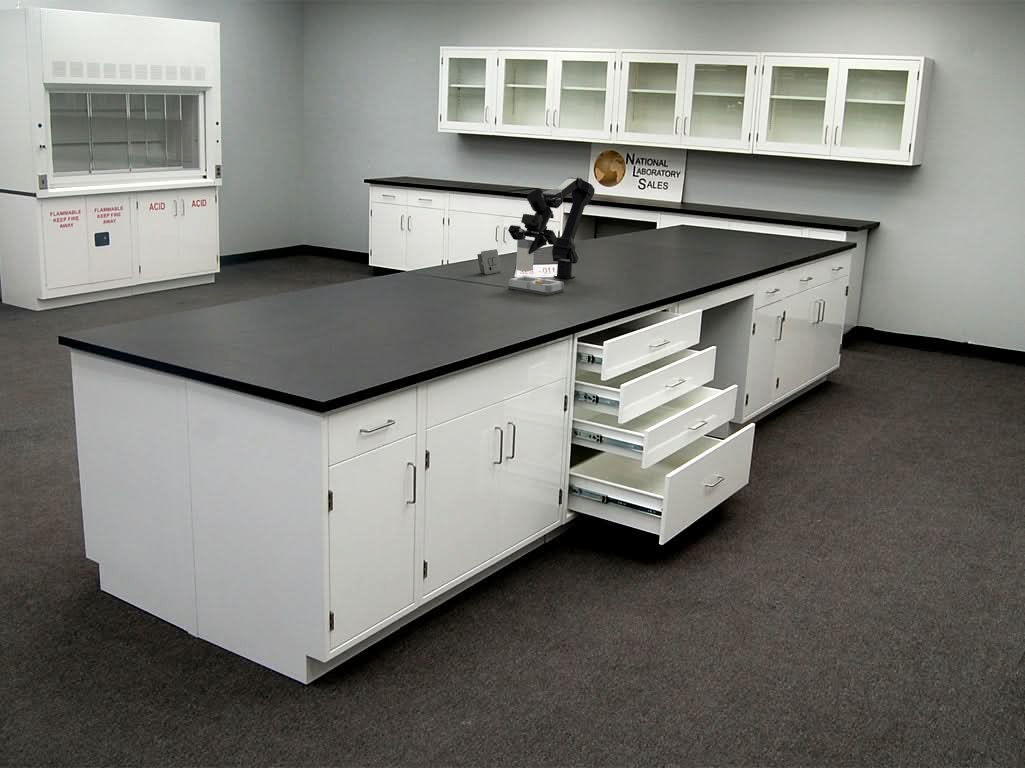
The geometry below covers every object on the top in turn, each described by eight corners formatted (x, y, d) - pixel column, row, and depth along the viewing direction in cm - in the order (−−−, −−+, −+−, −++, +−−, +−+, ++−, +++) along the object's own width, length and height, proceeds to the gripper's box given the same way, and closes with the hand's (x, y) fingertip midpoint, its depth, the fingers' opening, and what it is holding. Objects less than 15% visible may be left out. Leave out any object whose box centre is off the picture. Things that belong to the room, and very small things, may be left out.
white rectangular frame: (524, 284, 383) (524, 273, 382) (563, 291, 374) (564, 279, 373) (508, 288, 375) (508, 277, 374) (548, 295, 366) (549, 283, 364)
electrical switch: (486, 275, 400) (485, 251, 398) (476, 274, 403) (475, 251, 401) (501, 272, 407) (500, 249, 405) (491, 272, 410) (490, 248, 408)
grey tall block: (522, 268, 378) (523, 239, 375) (532, 270, 376) (534, 240, 373) (516, 270, 374) (517, 240, 371) (526, 271, 372) (527, 241, 369)
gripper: (511, 203, 376) (494, 236, 371) (554, 208, 367) (537, 241, 361) (522, 222, 385) (505, 254, 379) (564, 227, 376) (548, 261, 370)
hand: (523, 252), depth 372 cm, fingers closed on grey tall block, 4 cm apart
